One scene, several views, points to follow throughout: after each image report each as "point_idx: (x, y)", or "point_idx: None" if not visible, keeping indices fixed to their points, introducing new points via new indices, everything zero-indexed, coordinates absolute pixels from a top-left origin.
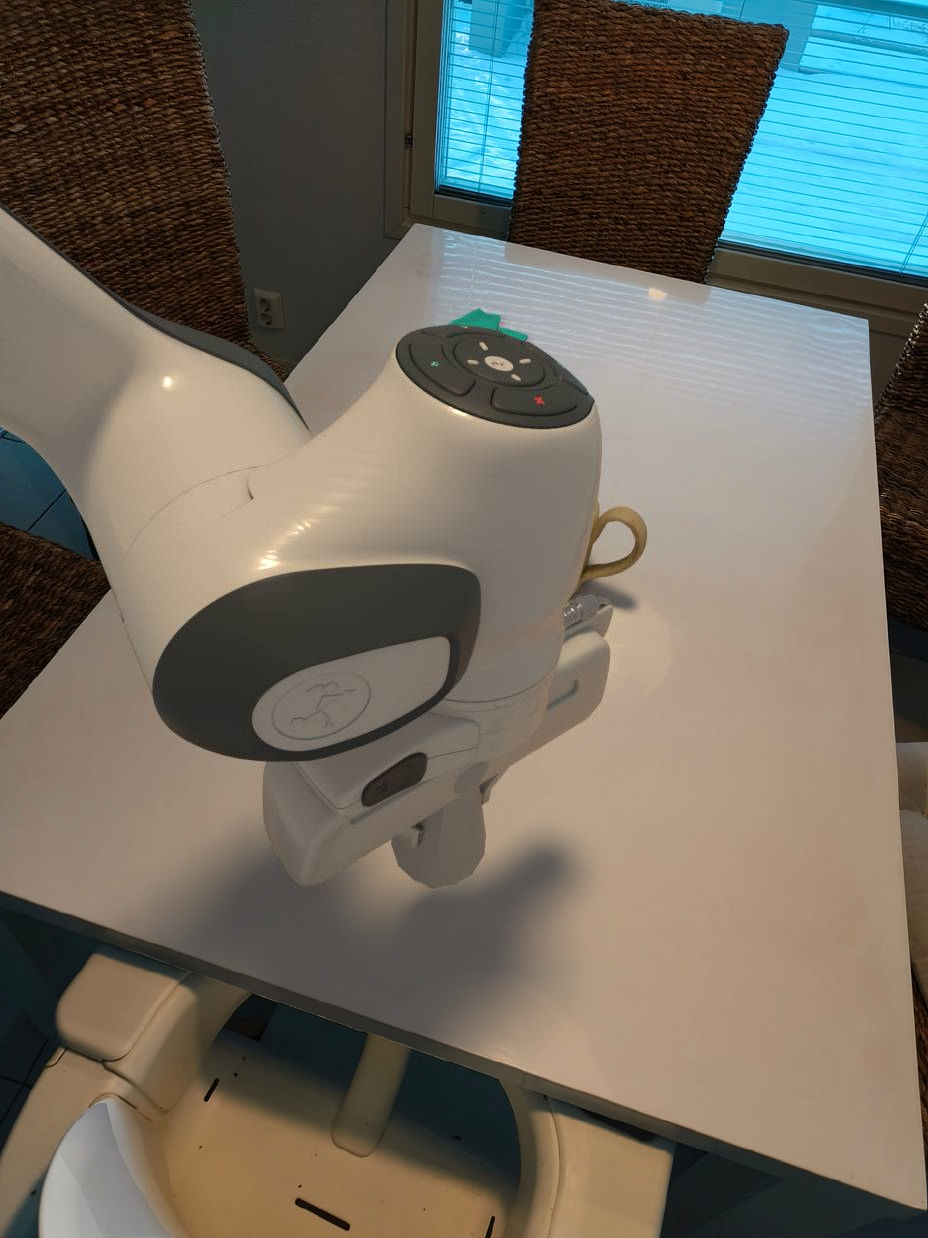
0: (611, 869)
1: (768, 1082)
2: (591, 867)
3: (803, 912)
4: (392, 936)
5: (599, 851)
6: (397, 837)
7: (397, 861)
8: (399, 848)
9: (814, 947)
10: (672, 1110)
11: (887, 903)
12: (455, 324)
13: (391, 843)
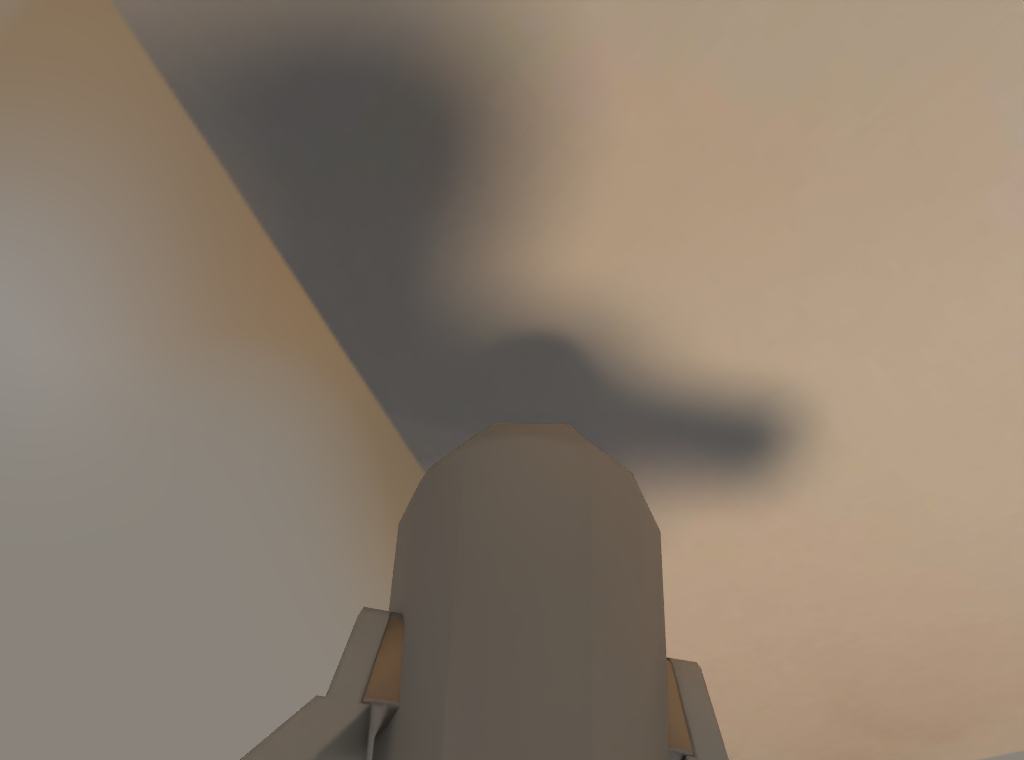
0: (802, 512)
1: None
2: (786, 490)
3: (896, 699)
4: (469, 344)
5: (822, 485)
6: (411, 538)
7: (398, 526)
8: (401, 549)
9: (852, 718)
10: None
11: (971, 754)
12: None
13: (419, 484)
